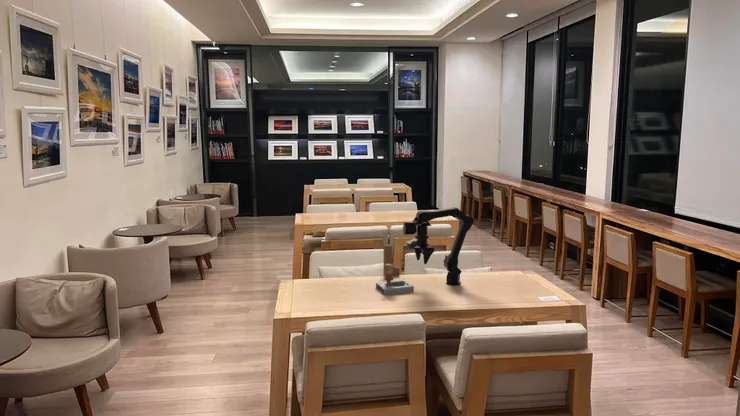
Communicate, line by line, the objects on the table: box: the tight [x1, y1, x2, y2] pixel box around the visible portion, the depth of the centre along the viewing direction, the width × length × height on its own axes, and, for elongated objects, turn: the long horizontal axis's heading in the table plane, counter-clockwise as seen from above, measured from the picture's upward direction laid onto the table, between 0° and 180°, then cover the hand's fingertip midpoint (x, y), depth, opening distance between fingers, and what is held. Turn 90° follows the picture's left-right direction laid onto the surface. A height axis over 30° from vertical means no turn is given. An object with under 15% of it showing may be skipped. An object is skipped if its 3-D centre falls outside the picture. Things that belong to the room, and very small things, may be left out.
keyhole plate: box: [375, 279, 415, 296], centre depth 288 cm, size 16×13×3 cm
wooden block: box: [383, 243, 401, 277], centre depth 316 cm, size 9×4×18 cm, turn 95°
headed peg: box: [382, 263, 394, 292], centre depth 286 cm, size 6×6×14 cm
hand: (421, 262), depth 294 cm, fingers open, 9 cm apart
